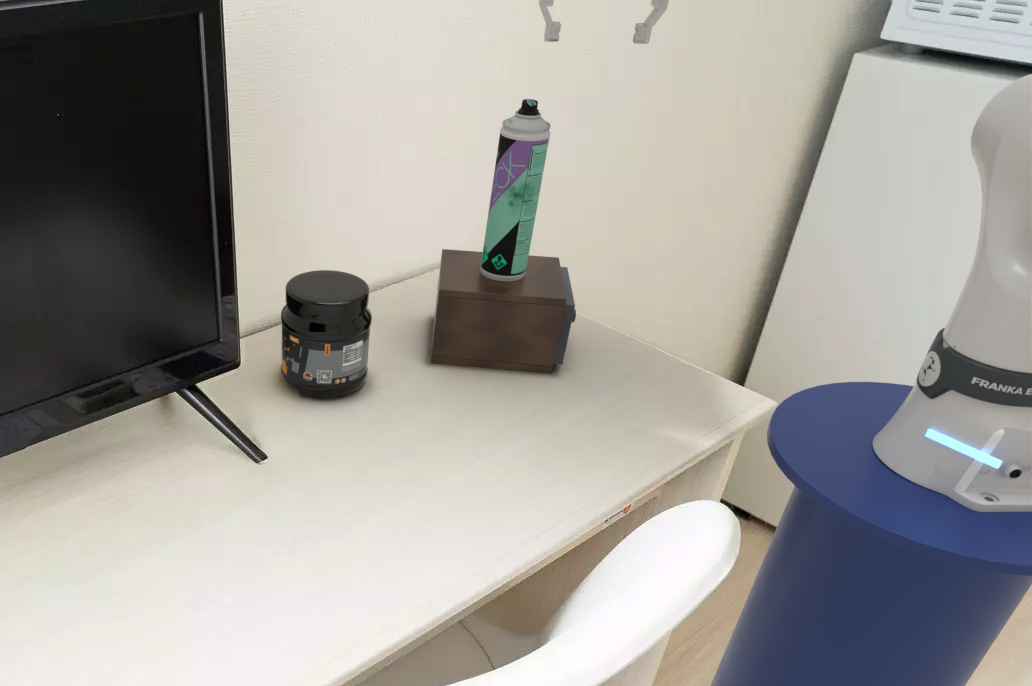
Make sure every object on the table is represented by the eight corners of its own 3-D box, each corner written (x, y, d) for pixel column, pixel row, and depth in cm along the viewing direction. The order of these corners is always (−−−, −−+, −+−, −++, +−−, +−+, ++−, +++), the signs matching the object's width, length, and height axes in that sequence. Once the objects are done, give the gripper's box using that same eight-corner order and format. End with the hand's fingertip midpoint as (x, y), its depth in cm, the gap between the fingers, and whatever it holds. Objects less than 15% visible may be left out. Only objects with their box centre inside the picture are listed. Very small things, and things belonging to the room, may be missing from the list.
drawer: (565, 324, 123) (577, 267, 118) (572, 365, 114) (585, 306, 109) (452, 315, 125) (459, 259, 120) (450, 355, 116) (458, 296, 111)
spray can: (499, 260, 118) (526, 92, 106) (534, 274, 114) (565, 102, 102) (470, 271, 115) (494, 99, 103) (505, 285, 111) (534, 109, 99)
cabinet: (545, 327, 124) (559, 257, 119) (551, 373, 114) (566, 299, 108) (434, 318, 126) (442, 248, 120) (430, 362, 116) (439, 289, 110)
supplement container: (293, 353, 118) (295, 262, 110) (375, 365, 115) (382, 273, 108) (269, 393, 110) (269, 298, 102) (356, 407, 107) (363, 311, 100)
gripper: (724, -113, 94) (689, 38, 102) (517, -113, 97) (500, 34, 105) (738, -108, 89) (701, 50, 97) (520, -108, 92) (502, 45, 100)
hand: (595, 41), depth 101 cm, fingers open, 8 cm apart
